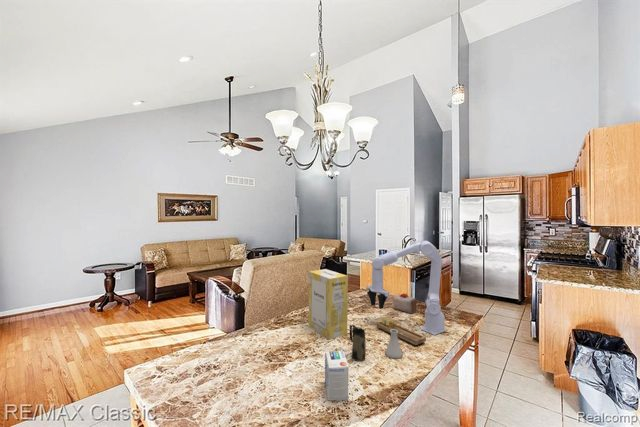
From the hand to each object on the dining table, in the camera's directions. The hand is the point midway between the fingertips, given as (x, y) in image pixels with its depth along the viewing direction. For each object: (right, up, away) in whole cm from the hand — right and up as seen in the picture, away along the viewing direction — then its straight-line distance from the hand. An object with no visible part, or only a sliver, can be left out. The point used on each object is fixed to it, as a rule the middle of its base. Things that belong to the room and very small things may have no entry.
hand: (377, 306), depth 151 cm
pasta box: (-26, -10, -6) cm, 28 cm away
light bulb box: (-24, -11, -54) cm, 60 cm away
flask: (+1, -10, -30) cm, 32 cm away
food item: (+20, -9, +22) cm, 31 cm away
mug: (-15, -10, -32) cm, 37 cm away
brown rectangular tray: (+8, -10, -12) cm, 18 cm away
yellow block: (+4, -8, -6) cm, 11 cm away
